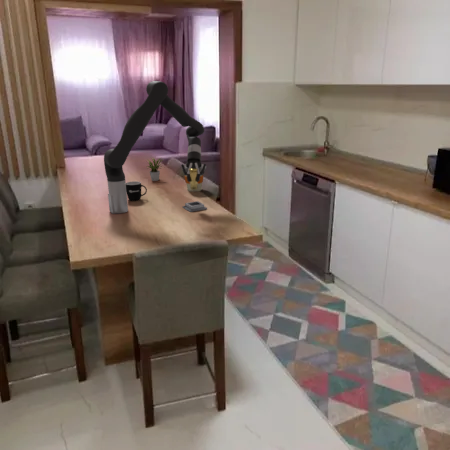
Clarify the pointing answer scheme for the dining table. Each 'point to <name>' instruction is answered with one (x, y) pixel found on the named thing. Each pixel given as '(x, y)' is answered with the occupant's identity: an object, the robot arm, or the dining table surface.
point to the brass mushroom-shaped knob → (193, 178)
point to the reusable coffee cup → (197, 182)
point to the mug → (134, 190)
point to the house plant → (154, 169)
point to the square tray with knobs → (194, 206)
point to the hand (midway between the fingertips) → (193, 181)
